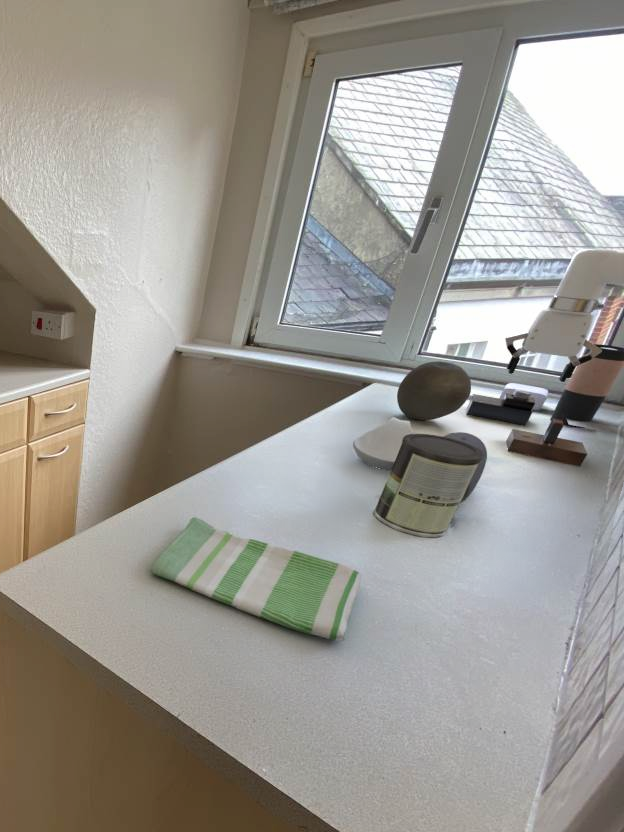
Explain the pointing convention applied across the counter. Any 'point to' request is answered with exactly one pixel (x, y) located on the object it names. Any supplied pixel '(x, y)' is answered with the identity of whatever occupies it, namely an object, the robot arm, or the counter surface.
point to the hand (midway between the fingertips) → (535, 376)
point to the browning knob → (553, 431)
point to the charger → (535, 392)
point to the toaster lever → (521, 394)
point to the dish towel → (262, 579)
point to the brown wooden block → (546, 447)
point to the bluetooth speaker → (477, 475)
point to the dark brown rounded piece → (433, 390)
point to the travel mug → (589, 385)
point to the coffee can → (427, 484)
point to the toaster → (501, 409)
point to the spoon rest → (382, 443)
